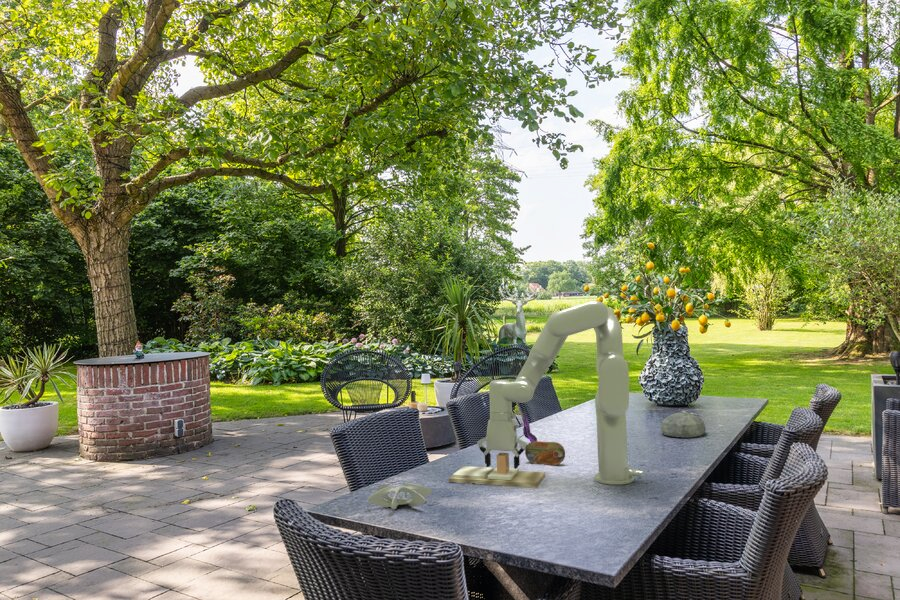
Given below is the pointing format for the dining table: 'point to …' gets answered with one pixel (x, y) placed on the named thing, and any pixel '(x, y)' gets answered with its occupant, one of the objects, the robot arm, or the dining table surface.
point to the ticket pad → (481, 477)
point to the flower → (527, 430)
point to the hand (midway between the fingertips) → (502, 467)
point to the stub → (503, 468)
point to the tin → (545, 453)
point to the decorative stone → (683, 425)
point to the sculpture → (393, 503)
